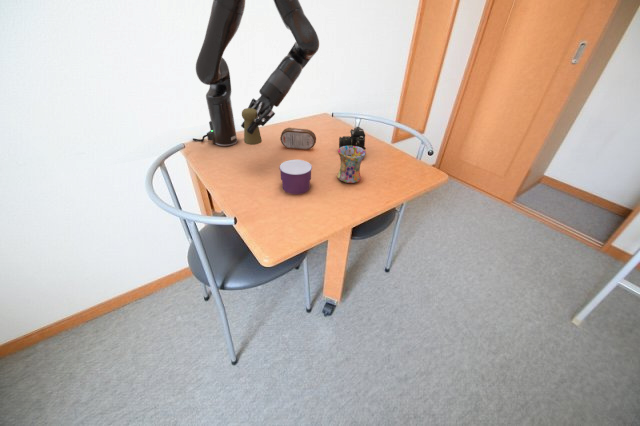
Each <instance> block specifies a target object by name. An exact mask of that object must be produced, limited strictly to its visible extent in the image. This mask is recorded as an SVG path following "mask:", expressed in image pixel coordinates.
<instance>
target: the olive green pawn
mask: <svg viewBox="0 0 640 426" xmlns="http://www.w3.org/2000/svg"><path fill="white" fill-rule="evenodd" d="M256 111H257V110H256V109H253V108H248V107H246V108H243V109H242V111H241V117H242V119H243V122H244V128H243V138H244V139H243V142H244V144H246V145H249V146H255V145H259V144H261V143H263V139H262V135H261V131H260V126H258V127H257V128H256V129H255V131H254V132H253V134H250V133H249V132H247V131H246V130H247V128H248V127H249V125H250V124H251V122H252V121H253V120H254V119H255V118H256ZM253 122H254V121H253Z"/></svg>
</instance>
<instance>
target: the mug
mask: <svg viewBox="0 0 640 426" xmlns="http://www.w3.org/2000/svg"><path fill="white" fill-rule="evenodd" d="M337 152H338V155H339V159H340V168H339V171H338V173H337V175H336V176H337V179H338V180H339V181H340V182H342V183H347V184H355V183H358V182H359V181H361V179H362V175H361V170H360V169H361V164H362V161H363V159H364V158H365V156H366V154H367V151H366V149H365V150H364V149H362V148H360V147H357V146H343V147H341V148H339V147H338V149H337Z"/></svg>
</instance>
